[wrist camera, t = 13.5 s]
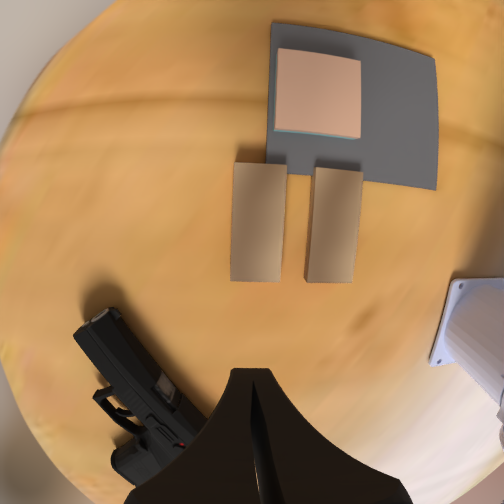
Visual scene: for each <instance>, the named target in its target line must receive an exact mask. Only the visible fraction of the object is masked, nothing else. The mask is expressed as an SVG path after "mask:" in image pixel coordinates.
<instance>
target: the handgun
mask: <svg viewBox="0 0 504 504" xmlns="http://www.w3.org/2000/svg"><path fill="white" fill-rule="evenodd" d="M120 316H121V313H120V312H119V311H118V310H117V309H114V307H110V308H107V309H105V310H103V311H101V312H100V313H99V314H97V315H96V316H95V317H94V318H92V319H91V320H89V321H87V322H86V323H84V324H83V325H82V326H81V327H80V328H79V329H78V330H77V331H76V332H75V333H74V334H73V337H74V339H75V340H76V342H77V343H78V345H79V346H80V347H81V349H82V350H83V351H84V353H85V354H86V355H87V356H88V358H89V359H90V360H91V362H92V363H93V364H94V365H95V367H96V368H97V369H98V370H99V372H100V373H101V374H102V375H103V376H104V378H105V379H106V380H107V381H108V382H109V383H110V385H111V386H109V387H106V388H104V389H100V390H98V389H97V390H96V392H95V394H94V395H93V399H94V400H95V401H96V402H97V403H98V405H99V406H100V407H101V408H102V409H103V410H104V411H105V412H106V413H107V414H108V415H109V416H110V417H111V418H112V420H113V421H114V422H115V423H117V424H118V425H120V426H121V427H122V428H124V429H125V430H127V431H128V432H130V433H131V434H132V435H133V436H134V438H133V439H131V440H130V441H129V442H128V443H126V444H125V445H124V446H122V447H121V448H117V449H115V450H114V451H113V453H112V455H111V465H112V468H113V469H114V470H115V471H116V472H117V473H118V474H120V475H121V476H122V477H123V478H125V479H126V480H127V481H128V482H130V483H131V484H132V485H135V487H138V486H139V485H141V484H142V483H144V482H145V481H147V480H148V479H150V478H151V477H153V476H154V475H156V474H157V473H158V472H159V471H161V470H162V469H163V468H164V467H165V466H167V465H168V464H169V463H170V462H171V461H172V460H174V459H175V458H176V457H177V456H178V455H179V454H180V453H181V452H182V451H183V450H184V449H185V448H186V447H187V446H188V445H189V444H190V442H191V441H192V440H193V439H194V438H195V437H196V435H197V434H198V433H199V432H200V430H201V429H202V428H203V426H204V425H205V424H206V422H207V421H208V420H207V419H206V418H205V417H204V416H203V415H202V414H201V413H200V412H199V411H198V410H197V408H196V407H195V406H194V405H193V404H192V403H191V402H190V401H189V400H188V399H187V398H186V397H185V396H184V395H183V394H182V393H180V392H179V391H178V389H177V388H176V387H175V386H174V385H173V384H172V382H171V381H170V380H169V379H168V378H167V376H166V375H165V374H164V373H163V371H162V369H161V368H160V367H159V366H158V365H157V363H156V362H155V361H154V360H153V359H152V357H151V356H150V355H149V354H148V352H147V351H146V350H145V349H144V347H143V346H142V345H141V344H140V342H139V341H138V340H137V338H136V337H135V336H134V335H133V333H132V332H131V331H130V329H129V328H128V327H127V325H126V324H125V323H124V321H123V320H122V319H121V317H120ZM114 394H116V396H117V397H118V398H119V399H120V400H121V401H122V402H123V403H124V404H125V405H126V406H127V408H128V409H129V410H124V409H121V408H120V407H118V408H117V409H116V408H115V407H114V406H113V405H112V404H111V403H110V402H109V401H108V400H107V397H109V396H112V395H114ZM133 416H136V417H137V418H138V419H139V420H140V421H141V422H142V423H143V424H144V426H138V425H136V424H134V423H133V422H132V421H130V420H129V419H127V418H126V417H133Z"/></svg>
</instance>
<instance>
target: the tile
mask: <svg viewBox="0 0 504 504" xmlns="http://www.w3.org/2000/svg"><path fill="white" fill-rule="evenodd" d="M273 131H279V132H291V133H302V134H312V135H321V136H329V137H337V138H345V139H352V140H354V139H358V138H360V135H361V61H358V60H353V59H349V58H343V57H338V56H333V55H327V54H321V53H314V52H307V51H299V50H291V49H282V48H278V51H277V54H276V69H275V93H274V116H273Z"/></svg>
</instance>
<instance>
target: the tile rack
mask: <svg viewBox="0 0 504 504" xmlns="http://www.w3.org/2000/svg"><path fill="white" fill-rule="evenodd" d="M286 179H287V165H279V164H262V163H239V162H234V181H233V207H232V238H231V274H230V281H242V282H280V274H281V260H282V246H283V231H284V215H285V198H286ZM362 186H363V172H358V171H349V170H339V169H329V168H319V167H314V170H313V176H312V178H311V195H310V210H309V223H308V236H307V248H306V260H305V270H304V279H305V280H306V282H307V283H352V280H353V273H354V265H355V257H356V249H357V241H358V232H359V222H360V211H361V199H362Z"/></svg>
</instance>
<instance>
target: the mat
mask: <svg viewBox="0 0 504 504" xmlns="http://www.w3.org/2000/svg"><path fill="white" fill-rule="evenodd" d="M278 48H282V49H291V50H299V51H307V52H314V53H321V54H327V55H333V56H338V57H343V58H349V59H353V60H358V61H361V135H360V138H358V139H354V140H352V139H345V138H337V137H329V136H321V135H312V134H302V133H291V132H279V131H273V116H274V93H275V69H276V54H277V51H278ZM438 139H439V123H438V93H437V78H436V66H435V59H434V58H431V57H428V56H425V55H422V54H420V53H417V52H414V51H411V50H408V49H404V48H401V47H398V46H394V45H391V44H388V43H384V42H380V41H377V40H373V39H369V38H365V37H360V36H356V35H351V34H347V33H342V32H337V31H331V30H326V29H320V28H314V27H307V26H299V25H291V24H282V23H272V24H271V44H270V70H269V95H268V119H267V142H266V164H279V165H287V174H297V175H311V176H313V170H314V167H319V168H329V169H339V170H349V171H358V172H363V181H372V182H380V183H388V184H396V185H403V186H410V187H417V188H423V189H430V190H436V186H437V170H438Z"/></svg>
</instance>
